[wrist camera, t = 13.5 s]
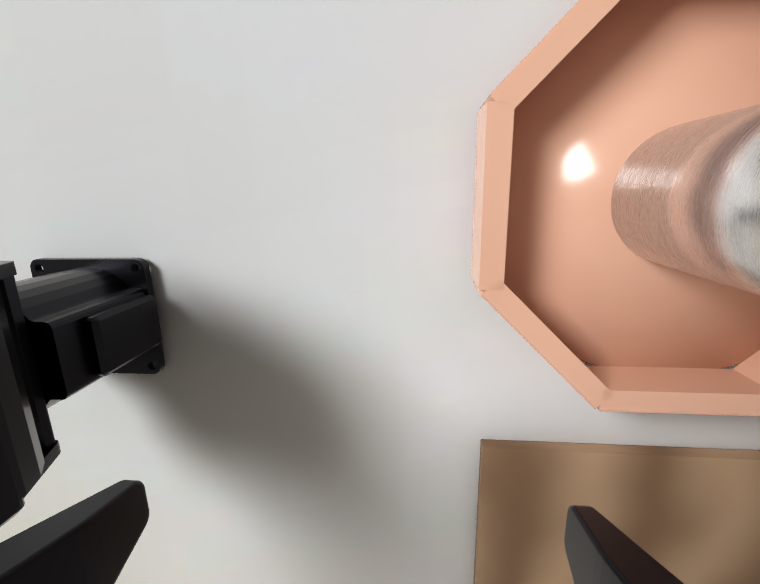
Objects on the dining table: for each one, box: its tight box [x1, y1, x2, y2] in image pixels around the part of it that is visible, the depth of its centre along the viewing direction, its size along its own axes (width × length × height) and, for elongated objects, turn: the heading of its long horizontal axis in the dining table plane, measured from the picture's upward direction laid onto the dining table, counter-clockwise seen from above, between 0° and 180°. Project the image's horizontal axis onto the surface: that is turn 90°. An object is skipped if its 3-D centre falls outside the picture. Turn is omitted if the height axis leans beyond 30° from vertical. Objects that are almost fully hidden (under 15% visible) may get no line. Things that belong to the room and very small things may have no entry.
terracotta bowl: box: [471, 0, 760, 416], centre depth 16 cm, size 18×18×4 cm
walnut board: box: [474, 439, 760, 584], centre depth 22 cm, size 16×12×1 cm
